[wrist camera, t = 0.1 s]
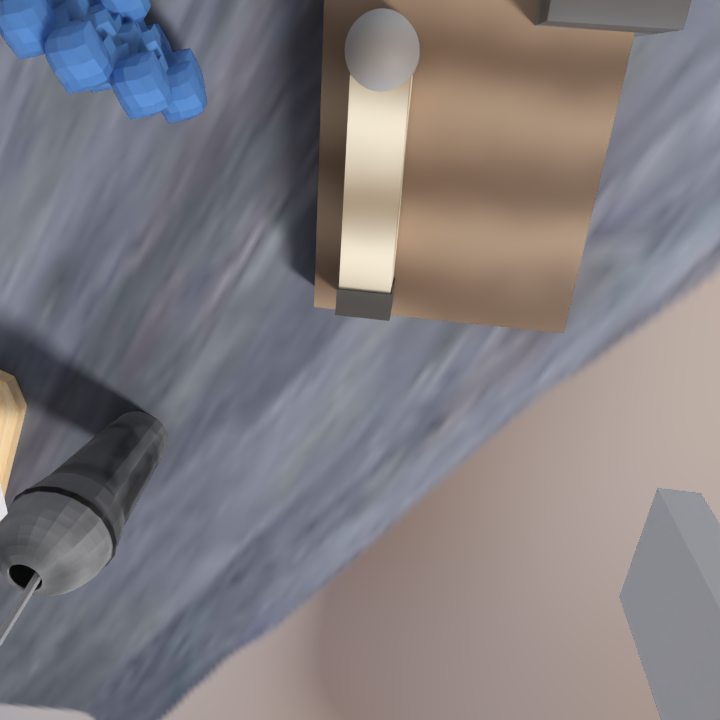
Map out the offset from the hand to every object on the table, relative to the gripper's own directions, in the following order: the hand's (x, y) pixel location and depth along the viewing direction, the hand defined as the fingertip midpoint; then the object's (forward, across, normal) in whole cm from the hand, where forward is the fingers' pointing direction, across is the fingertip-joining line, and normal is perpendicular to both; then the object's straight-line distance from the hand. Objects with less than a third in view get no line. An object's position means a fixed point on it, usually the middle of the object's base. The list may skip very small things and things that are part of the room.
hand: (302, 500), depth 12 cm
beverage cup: (+30, -19, -21) cm, 41 cm away
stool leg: (+27, -1, +8) cm, 28 cm away
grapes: (+30, -15, +8) cm, 35 cm away
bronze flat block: (+30, +3, +2) cm, 30 cm away
